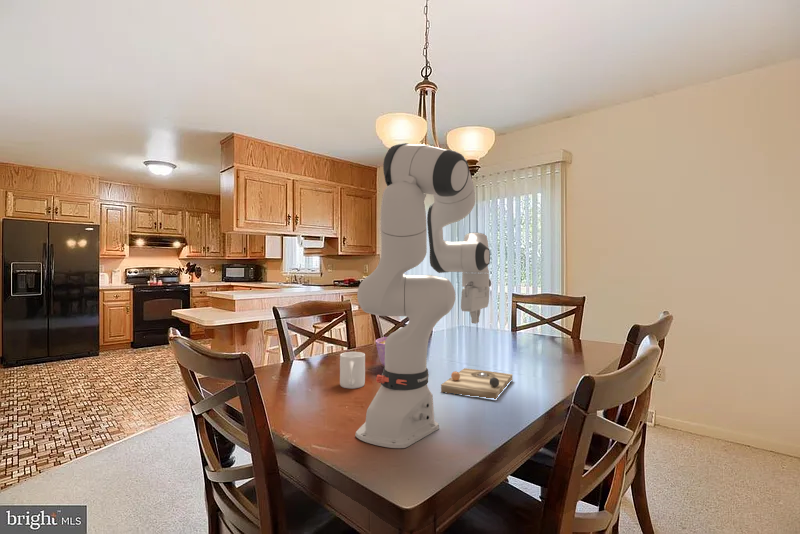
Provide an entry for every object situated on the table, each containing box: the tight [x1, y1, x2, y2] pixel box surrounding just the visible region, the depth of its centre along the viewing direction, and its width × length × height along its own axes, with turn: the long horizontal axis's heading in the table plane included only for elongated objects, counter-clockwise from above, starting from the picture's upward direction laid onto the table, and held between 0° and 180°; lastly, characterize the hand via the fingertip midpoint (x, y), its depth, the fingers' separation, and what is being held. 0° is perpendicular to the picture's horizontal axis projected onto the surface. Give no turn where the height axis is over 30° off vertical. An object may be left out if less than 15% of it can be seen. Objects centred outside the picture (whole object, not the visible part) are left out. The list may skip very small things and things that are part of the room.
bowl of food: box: [375, 336, 388, 367], centre depth 159 cm, size 20×20×12 cm
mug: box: [339, 351, 366, 390], centre depth 136 cm, size 9×12×11 cm
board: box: [440, 367, 513, 399], centre depth 137 cm, size 24×18×2 cm
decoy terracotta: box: [450, 370, 460, 380], centre depth 135 cm, size 3×3×3 cm
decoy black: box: [490, 377, 499, 387], centre depth 128 cm, size 3×3×3 cm
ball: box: [478, 372, 488, 377], centre depth 142 cm, size 4×4×4 cm
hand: (475, 323), depth 133 cm, fingers closed
